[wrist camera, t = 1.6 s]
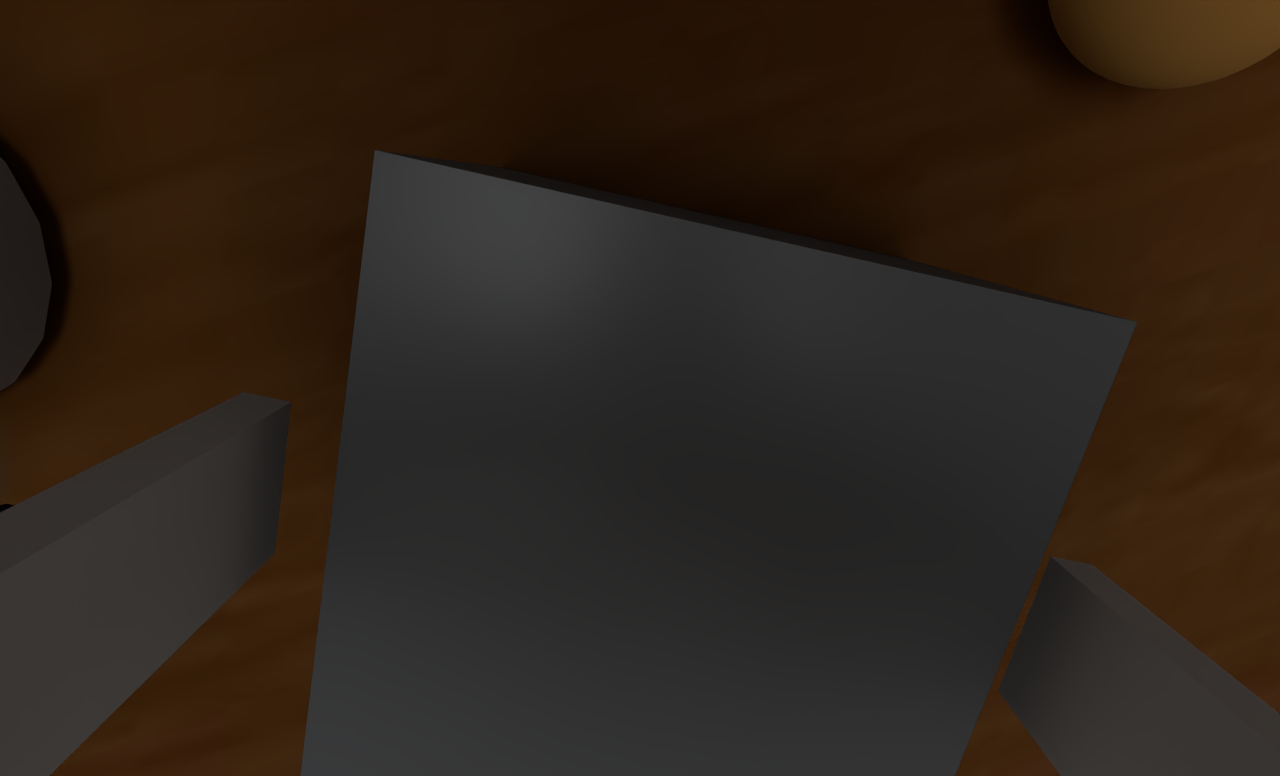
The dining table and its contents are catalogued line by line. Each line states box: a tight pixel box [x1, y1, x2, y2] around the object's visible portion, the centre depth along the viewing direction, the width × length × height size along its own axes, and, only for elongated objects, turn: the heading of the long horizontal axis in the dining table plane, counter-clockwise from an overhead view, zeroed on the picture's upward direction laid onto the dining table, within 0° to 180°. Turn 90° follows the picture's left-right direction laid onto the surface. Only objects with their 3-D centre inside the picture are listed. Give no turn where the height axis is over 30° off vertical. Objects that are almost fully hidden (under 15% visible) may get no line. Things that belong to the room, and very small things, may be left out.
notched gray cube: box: [301, 150, 1137, 776], centre depth 15 cm, size 10×10×9 cm
